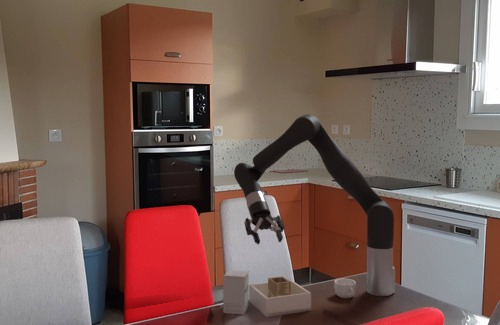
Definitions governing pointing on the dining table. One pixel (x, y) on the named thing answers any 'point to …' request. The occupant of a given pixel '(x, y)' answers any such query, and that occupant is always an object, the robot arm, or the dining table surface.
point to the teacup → (345, 287)
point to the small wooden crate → (278, 287)
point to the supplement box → (235, 292)
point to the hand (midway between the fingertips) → (269, 242)
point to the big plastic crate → (279, 300)
